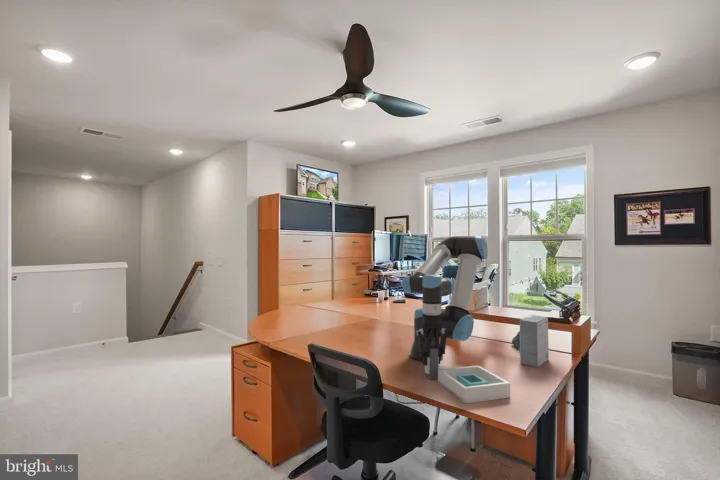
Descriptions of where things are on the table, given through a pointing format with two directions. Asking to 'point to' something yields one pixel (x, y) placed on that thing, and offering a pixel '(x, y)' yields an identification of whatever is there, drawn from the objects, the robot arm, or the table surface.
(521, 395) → the table surface
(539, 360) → the hard drive box
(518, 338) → the mineral rock
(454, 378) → the walled box
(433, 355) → the connector plug
